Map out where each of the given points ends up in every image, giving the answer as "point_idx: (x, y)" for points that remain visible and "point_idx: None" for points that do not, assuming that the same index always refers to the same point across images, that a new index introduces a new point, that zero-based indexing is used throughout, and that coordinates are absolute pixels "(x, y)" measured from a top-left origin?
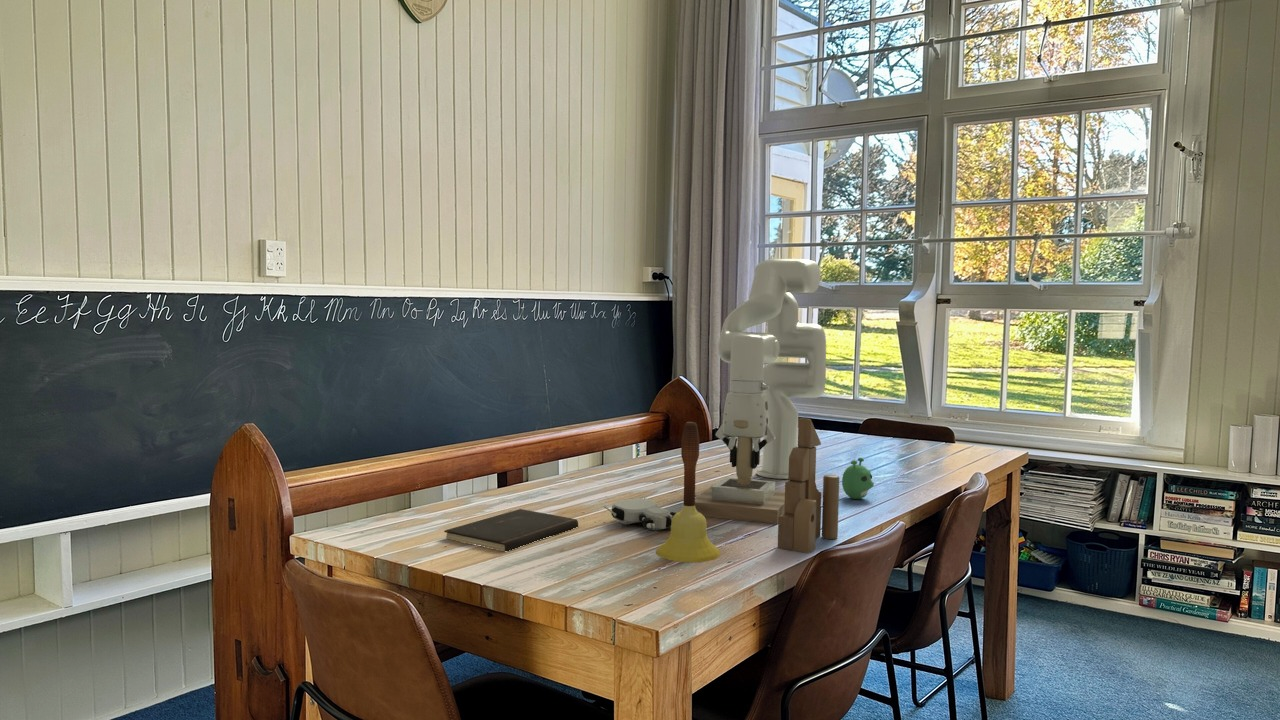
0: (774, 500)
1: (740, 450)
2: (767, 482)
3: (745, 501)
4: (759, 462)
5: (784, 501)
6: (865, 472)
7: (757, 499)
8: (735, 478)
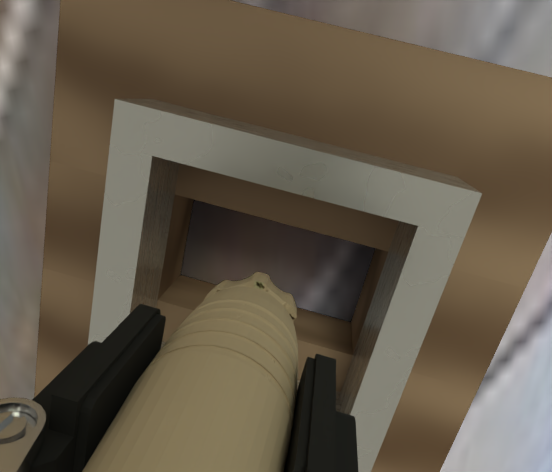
0: (430, 340)
1: None
2: (416, 240)
3: None
4: (354, 420)
5: (483, 357)
6: None
7: None
8: (186, 133)
